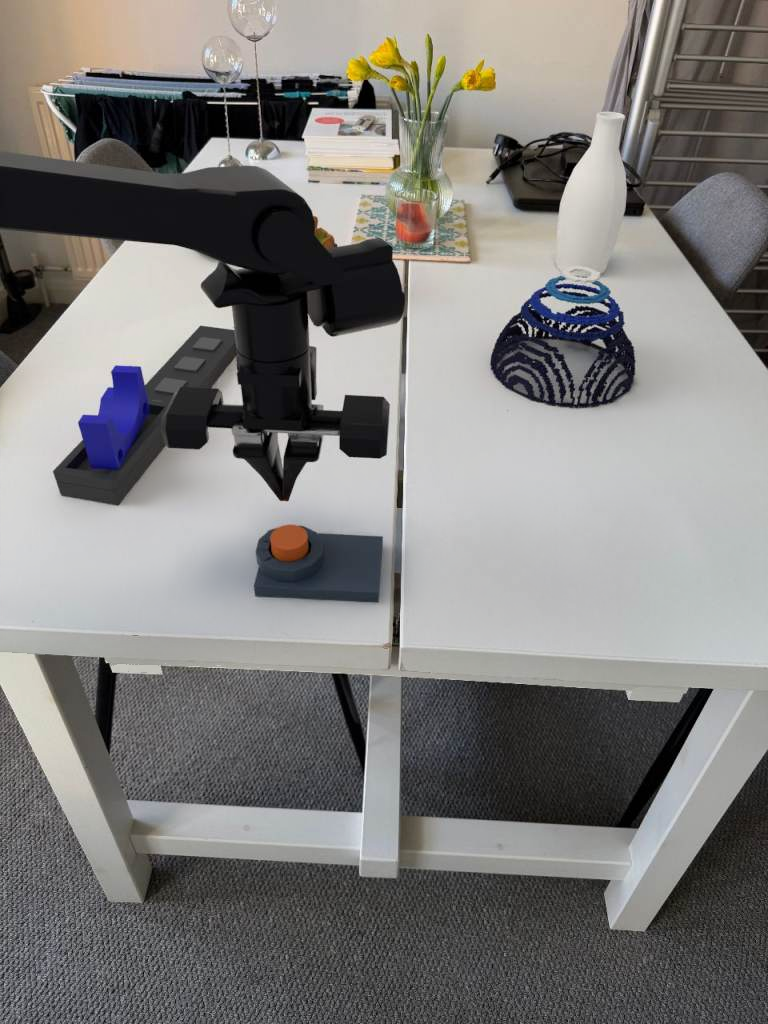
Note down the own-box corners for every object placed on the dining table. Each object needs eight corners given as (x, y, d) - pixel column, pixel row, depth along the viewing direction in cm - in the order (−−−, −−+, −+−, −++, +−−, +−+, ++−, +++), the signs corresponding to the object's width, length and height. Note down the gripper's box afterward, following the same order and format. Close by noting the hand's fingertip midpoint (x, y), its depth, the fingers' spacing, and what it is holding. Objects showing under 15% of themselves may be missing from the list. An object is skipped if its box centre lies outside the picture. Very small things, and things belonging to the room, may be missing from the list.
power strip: (118, 505, 80) (111, 481, 78) (60, 495, 81) (52, 471, 79) (245, 343, 109) (243, 322, 107) (202, 337, 111) (198, 316, 108)
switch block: (252, 596, 71) (249, 574, 69) (266, 540, 77) (264, 518, 75) (378, 602, 70) (379, 580, 68) (382, 545, 77) (383, 524, 75)
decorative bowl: (545, 324, 117) (562, 234, 107) (657, 372, 106) (687, 275, 97) (463, 366, 106) (473, 269, 96) (579, 423, 95) (603, 320, 86)
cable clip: (113, 408, 89) (102, 364, 85) (150, 410, 89) (140, 366, 85) (77, 467, 80) (63, 421, 76) (118, 469, 80) (106, 423, 76)
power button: (268, 561, 71) (267, 548, 69) (274, 536, 73) (273, 523, 72) (306, 563, 71) (305, 550, 69) (310, 538, 73) (309, 525, 72)
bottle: (599, 285, 129) (634, 126, 112) (540, 271, 133) (566, 116, 116) (618, 265, 136) (655, 113, 119) (562, 252, 140) (589, 103, 124)
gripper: (395, 306, 63) (389, 452, 74) (181, 296, 64) (205, 443, 74) (389, 370, 55) (383, 525, 65) (143, 358, 55) (176, 514, 65)
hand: (285, 498), depth 68 cm, fingers closed
